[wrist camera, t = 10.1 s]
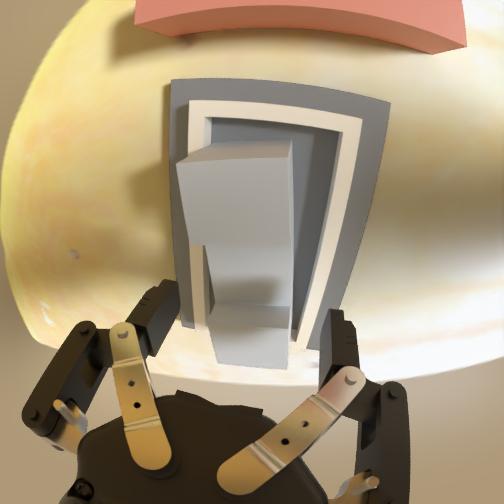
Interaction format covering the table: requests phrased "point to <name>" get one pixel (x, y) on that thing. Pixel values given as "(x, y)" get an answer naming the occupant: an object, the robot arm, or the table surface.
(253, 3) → the pink rectangular brick
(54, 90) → the table surface
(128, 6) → the table surface
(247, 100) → the jig
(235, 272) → the stepped grey block
